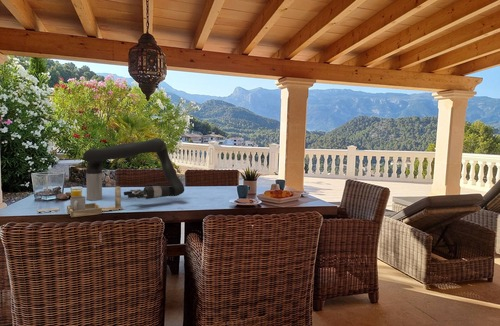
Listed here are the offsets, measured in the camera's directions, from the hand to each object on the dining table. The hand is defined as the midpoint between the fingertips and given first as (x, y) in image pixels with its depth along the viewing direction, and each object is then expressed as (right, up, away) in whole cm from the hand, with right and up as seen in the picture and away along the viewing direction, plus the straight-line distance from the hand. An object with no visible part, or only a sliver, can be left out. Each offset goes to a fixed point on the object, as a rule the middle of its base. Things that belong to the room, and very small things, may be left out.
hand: (125, 194), depth 196 cm
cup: (-21, -9, -15) cm, 27 cm away
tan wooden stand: (-13, -8, -9) cm, 18 cm away
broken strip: (-33, -8, -7) cm, 34 cm away
